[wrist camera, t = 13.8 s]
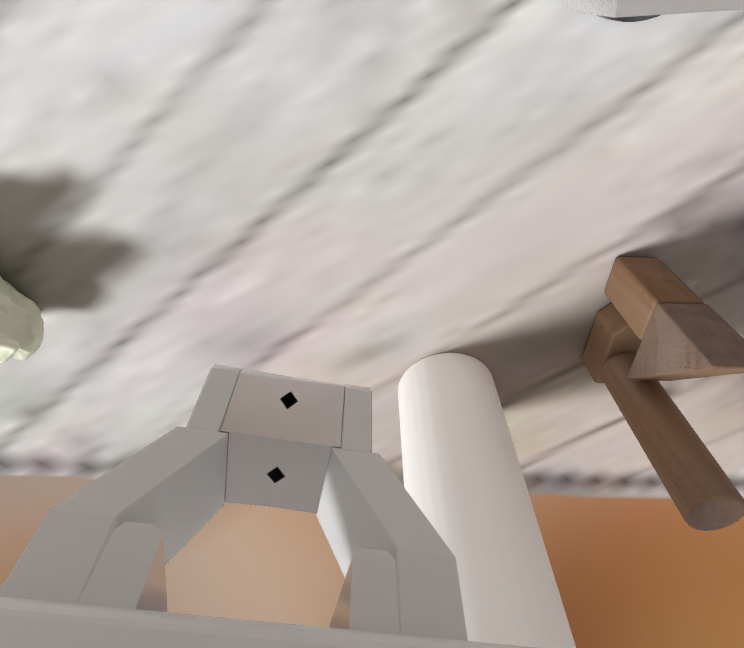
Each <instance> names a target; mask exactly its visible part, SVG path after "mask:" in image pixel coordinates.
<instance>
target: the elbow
mask: <svg viewBox="0 0 744 648" xmlns="http://www.w3.org/2000/svg"><path fill="white" fill-rule="evenodd" d="M742 9H744V0H569V2H568V9H567V11H571V12H579V13H586V14H593V15H600V16H607V17H614V18H616V17H632V16H648V15H663V14H679V13H695V12H711V11H726V10H742Z"/></svg>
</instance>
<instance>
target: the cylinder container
mask: <svg viewBox="0 0 744 648" xmlns="http://www.w3.org/2000/svg"><path fill="white" fill-rule="evenodd" d="M398 398H399V413H400V429H401V444H402V459H403V474H404V488H405V489H406V491H407V492H408V493H409V495H410V496H411V497H412V499H413V500H414V501H415V503H416V504H417V506H418V507H419V508H420V510H421V511H422V512H423V514H424V515H425V516H426V518H427V519H428V520H429V522H430V523H431V525H432V526H433V527H434V529H435V530H436V531H437V533H438V534H439V535H440V537H441V538H442V540H443V541H444V542H445V544H446V545H447V546H448V548H449V549H450V550H451V552H452V553H453V554H454V556H455V557H456V563H457V570H458V577H459V583H460V590H461V597H462V604H463V611H464V618H465V625H466V631H467V638H468V641H473V642H484V643H494V644H505V645H515V646H526V647H536V648H576V646H575V643H574V640H573V636H572V633H571V630H570V627H569V624H568V621H567V617H566V614H565V611H564V607H563V604H562V601H561V597H560V594H559V591H558V588H557V584H556V581H555V578H554V575H553V571H552V568H551V565H550V562H549V559H548V555H547V552H546V549H545V546H544V542H543V539H542V536H541V533H540V529H539V526H538V523H537V520H536V517H535V513H534V510H533V507H532V504H531V500H530V497H529V494H528V490H527V487H526V484H525V481H524V477H523V474H522V471H521V468H520V464H519V461H518V458H517V455H516V451H515V448H514V445H513V442H512V438H511V435H510V432H509V429H508V425H507V422H506V419H505V416H504V412H503V409H502V406H501V403H500V399H499V396H498V393H497V390H496V386H495V383H494V380H493V377H492V374H491V372H490V371H489V369H488V368H487V367H486V366H485V365H484V364H483V363H482V362H480V361H479V360H477V359H475V358H473V357H471V356H468V355H465V354H460V353H440V354H435V355H431V356H429V357H426V358H423V359H421V360H420V361H418V362H416V363H415V364H413V365H412V366H411V367H410V368H409V369H408V370H407V371H406V372H405V373H404V375H403V376H402V378H401V380H400V383H399V387H398Z"/></svg>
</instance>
